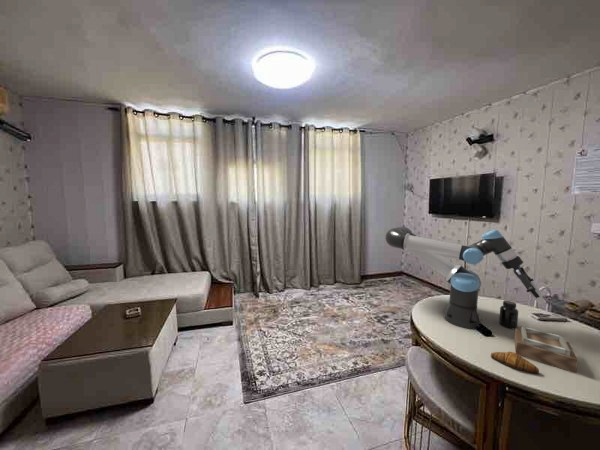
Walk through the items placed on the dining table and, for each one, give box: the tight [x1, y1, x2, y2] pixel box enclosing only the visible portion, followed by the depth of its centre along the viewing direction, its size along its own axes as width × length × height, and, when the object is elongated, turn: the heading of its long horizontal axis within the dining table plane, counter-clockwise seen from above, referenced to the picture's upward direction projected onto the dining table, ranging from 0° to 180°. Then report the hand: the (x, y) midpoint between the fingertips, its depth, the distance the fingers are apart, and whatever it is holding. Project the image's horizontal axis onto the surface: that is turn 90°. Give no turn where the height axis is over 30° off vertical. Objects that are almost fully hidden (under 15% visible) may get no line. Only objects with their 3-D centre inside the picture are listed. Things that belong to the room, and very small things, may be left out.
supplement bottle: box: [498, 300, 519, 330], centre depth 117 cm, size 7×7×12 cm
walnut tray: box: [513, 325, 579, 374], centre depth 96 cm, size 16×14×7 cm
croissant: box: [490, 351, 540, 374], centre depth 89 cm, size 14×7×5 cm, turn 48°
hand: (541, 299), depth 113 cm, fingers open, 13 cm apart
